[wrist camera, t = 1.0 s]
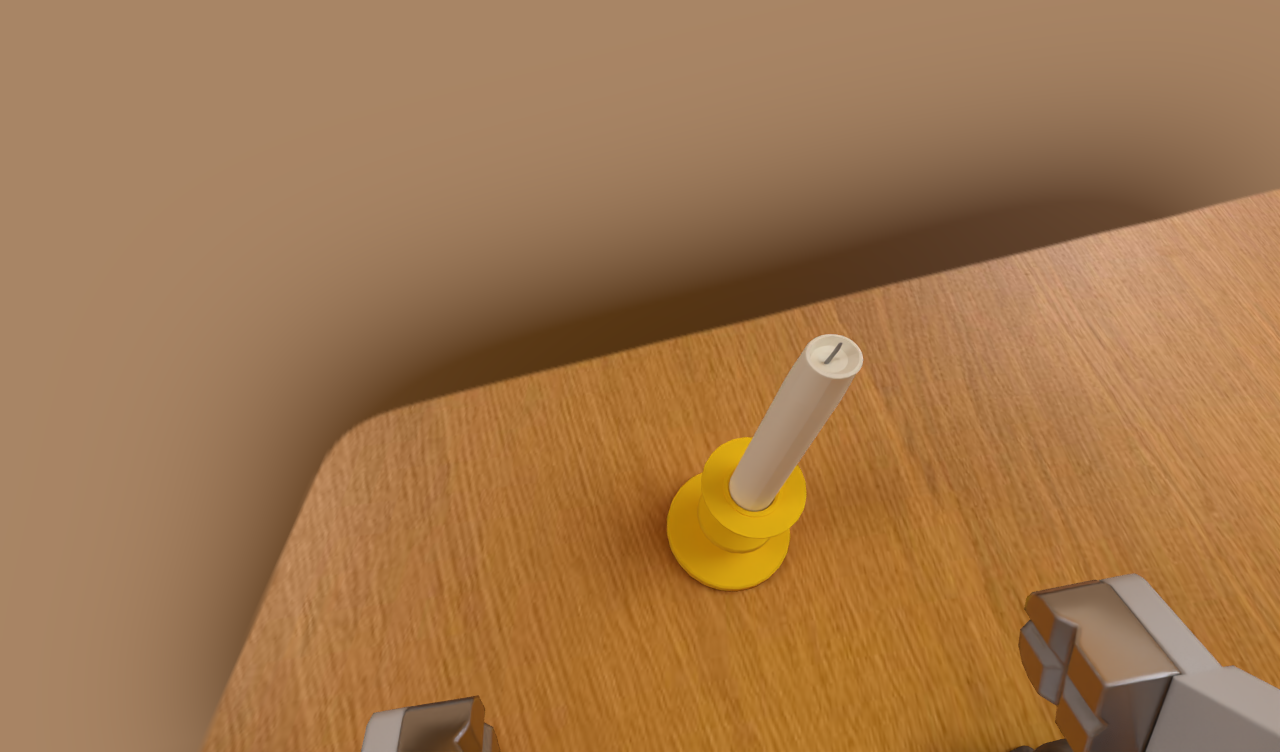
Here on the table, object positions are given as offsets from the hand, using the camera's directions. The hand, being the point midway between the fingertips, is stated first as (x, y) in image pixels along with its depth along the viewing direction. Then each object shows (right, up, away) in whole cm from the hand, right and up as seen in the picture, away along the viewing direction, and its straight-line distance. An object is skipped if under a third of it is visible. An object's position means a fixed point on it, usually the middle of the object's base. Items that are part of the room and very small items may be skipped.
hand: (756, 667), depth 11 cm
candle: (+2, -2, +22) cm, 22 cm away
